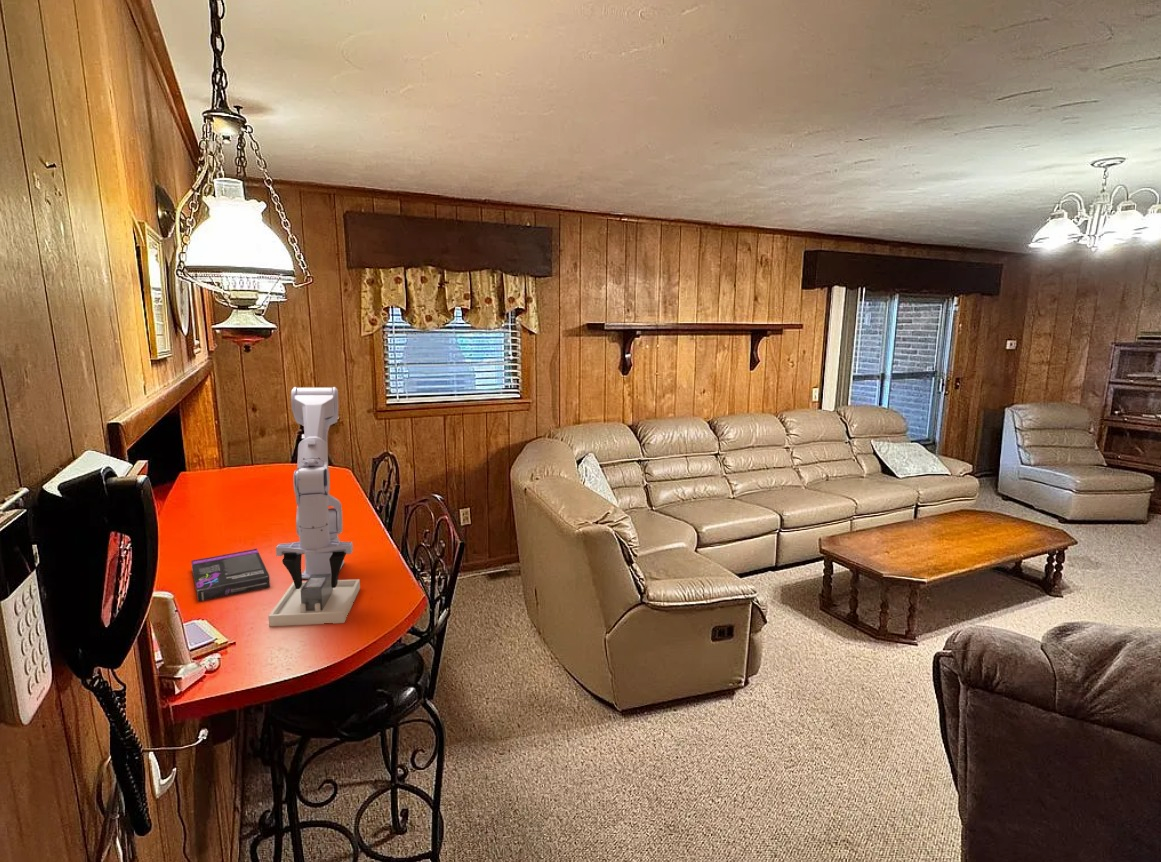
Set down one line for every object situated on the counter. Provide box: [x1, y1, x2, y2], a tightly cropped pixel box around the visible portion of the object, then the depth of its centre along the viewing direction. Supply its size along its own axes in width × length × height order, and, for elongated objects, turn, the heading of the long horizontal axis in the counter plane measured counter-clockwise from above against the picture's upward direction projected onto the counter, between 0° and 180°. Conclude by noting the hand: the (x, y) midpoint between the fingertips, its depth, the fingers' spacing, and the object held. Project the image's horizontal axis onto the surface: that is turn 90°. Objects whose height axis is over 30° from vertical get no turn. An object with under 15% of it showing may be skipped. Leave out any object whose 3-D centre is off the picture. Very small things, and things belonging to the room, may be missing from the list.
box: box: [191, 548, 271, 602], centre depth 139 cm, size 14×4×20 cm
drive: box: [301, 574, 332, 611], centre depth 126 cm, size 8×4×5 cm, turn 9°
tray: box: [268, 578, 361, 627], centre depth 127 cm, size 16×14×3 cm
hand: (316, 586), depth 126 cm, fingers open, 6 cm apart
